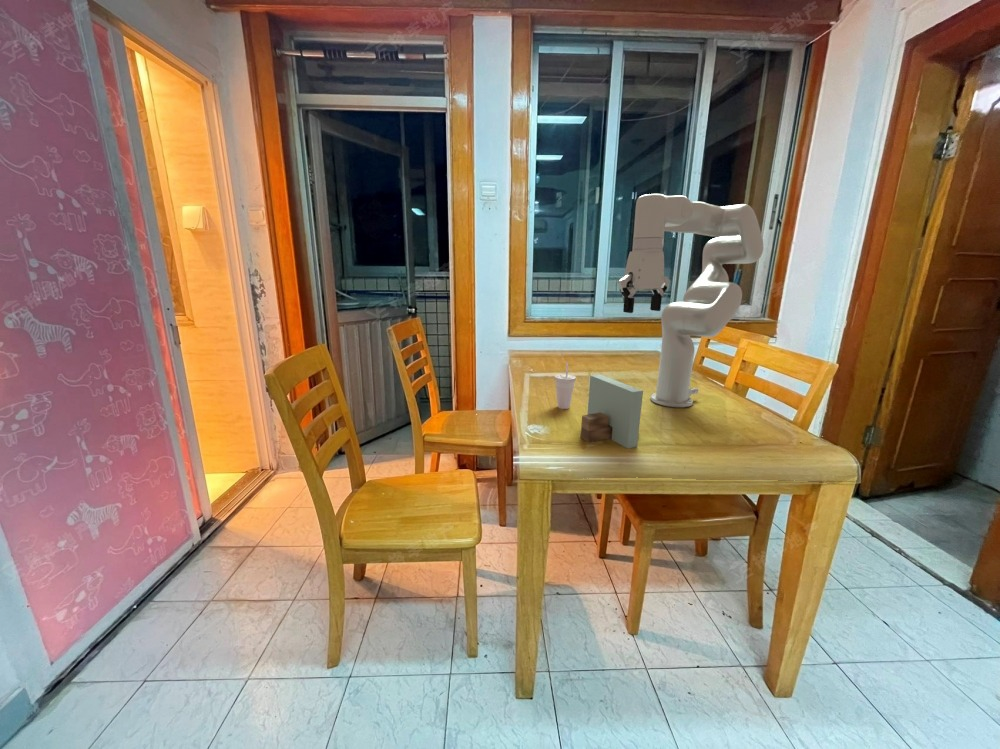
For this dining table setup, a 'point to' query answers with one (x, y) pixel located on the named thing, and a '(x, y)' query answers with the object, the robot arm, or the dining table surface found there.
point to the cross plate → (617, 407)
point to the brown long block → (595, 427)
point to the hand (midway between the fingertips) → (641, 311)
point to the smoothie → (564, 389)
